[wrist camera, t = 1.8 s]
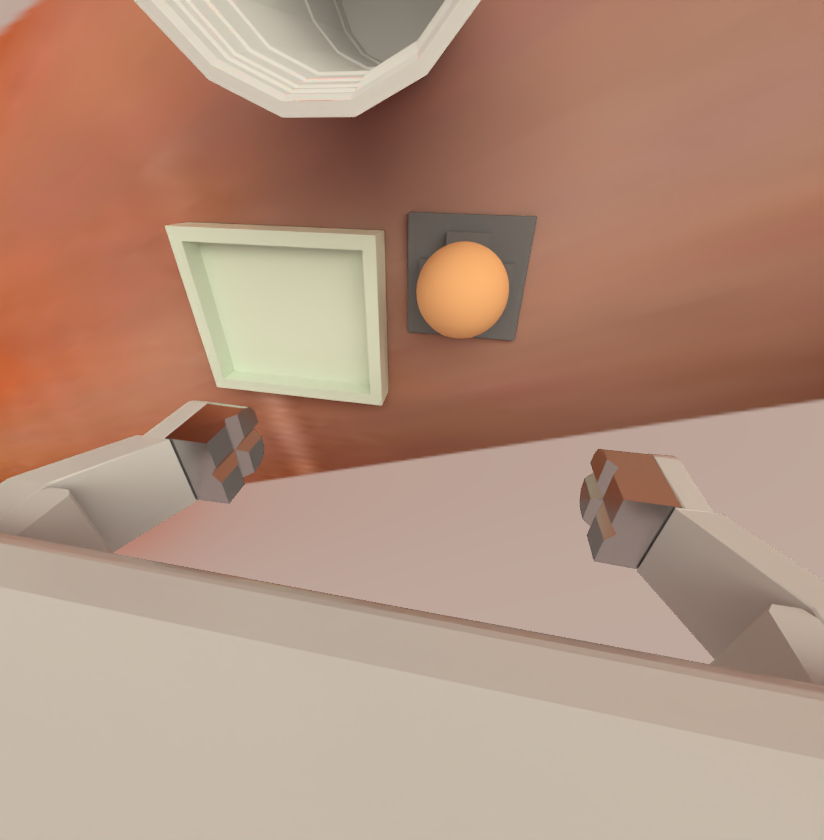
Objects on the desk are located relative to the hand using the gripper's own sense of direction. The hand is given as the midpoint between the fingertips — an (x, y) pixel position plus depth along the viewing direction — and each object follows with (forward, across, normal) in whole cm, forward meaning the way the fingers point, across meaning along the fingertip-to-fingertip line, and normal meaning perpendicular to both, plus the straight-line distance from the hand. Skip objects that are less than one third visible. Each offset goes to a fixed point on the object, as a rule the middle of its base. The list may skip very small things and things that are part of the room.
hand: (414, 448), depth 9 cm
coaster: (+17, 0, 0) cm, 17 cm away
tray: (+17, +11, +3) cm, 20 cm away
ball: (+16, 0, 0) cm, 16 cm away
